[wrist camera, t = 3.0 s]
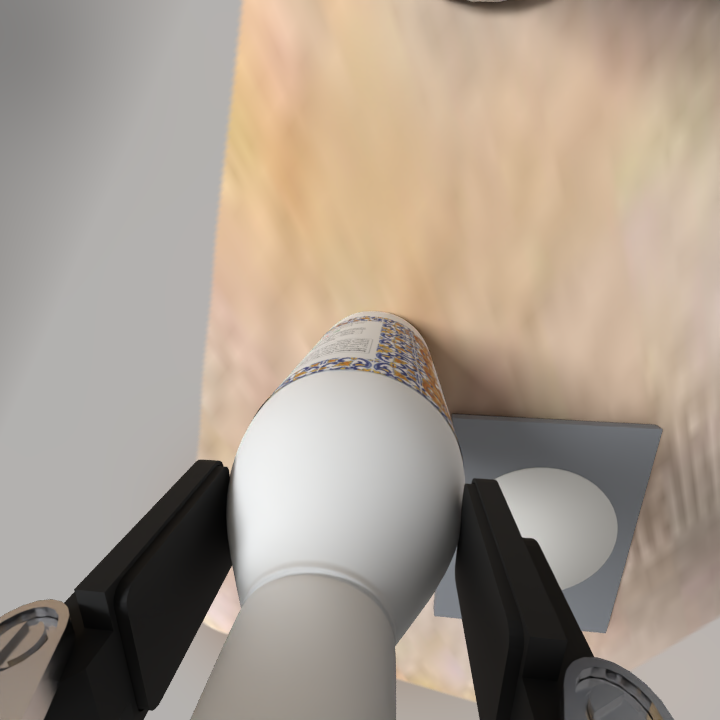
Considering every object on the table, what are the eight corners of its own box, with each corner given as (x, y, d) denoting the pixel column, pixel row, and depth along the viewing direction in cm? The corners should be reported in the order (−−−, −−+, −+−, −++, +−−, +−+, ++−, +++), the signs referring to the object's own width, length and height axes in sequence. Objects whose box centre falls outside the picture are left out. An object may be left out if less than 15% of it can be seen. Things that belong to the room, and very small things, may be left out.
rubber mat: (452, 413, 23) (453, 418, 22) (655, 424, 22) (663, 430, 21) (433, 608, 27) (434, 617, 27) (601, 624, 26) (606, 634, 26)
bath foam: (426, 420, 23) (559, 1214, 4) (318, 413, 24) (-6, 1073, 5) (435, 311, 21) (785, 865, 2) (318, 306, 22) (-258, 698, 3)
